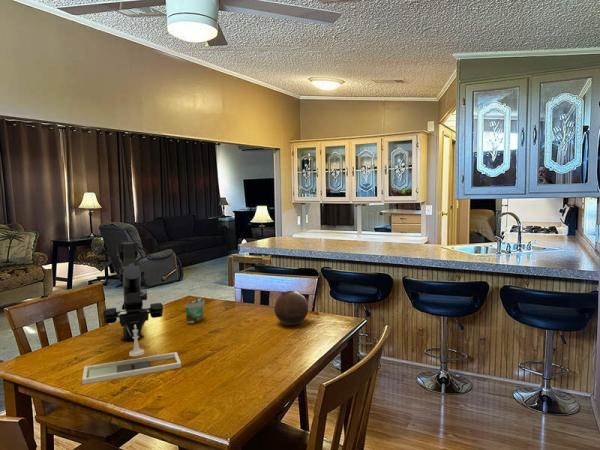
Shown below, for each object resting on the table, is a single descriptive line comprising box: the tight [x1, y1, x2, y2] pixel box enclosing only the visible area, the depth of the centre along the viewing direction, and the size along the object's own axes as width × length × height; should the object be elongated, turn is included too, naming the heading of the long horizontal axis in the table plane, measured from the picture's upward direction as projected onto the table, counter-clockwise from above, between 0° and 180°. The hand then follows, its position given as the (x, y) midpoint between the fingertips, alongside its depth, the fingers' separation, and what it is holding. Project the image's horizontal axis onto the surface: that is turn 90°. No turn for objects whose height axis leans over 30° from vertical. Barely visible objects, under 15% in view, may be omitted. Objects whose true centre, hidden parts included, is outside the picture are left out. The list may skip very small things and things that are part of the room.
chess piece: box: [128, 324, 145, 357], centre depth 142 cm, size 5×5×10 cm
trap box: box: [81, 351, 182, 385], centre depth 143 cm, size 30×11×2 cm, turn 114°
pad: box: [88, 366, 117, 378], centre depth 140 cm, size 8×9×1 cm
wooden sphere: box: [273, 290, 309, 326], centre depth 189 cm, size 15×15×15 cm
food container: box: [184, 296, 206, 326], centre depth 194 cm, size 12×6×10 cm, turn 168°
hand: (135, 335), depth 141 cm, fingers closed on chess piece
